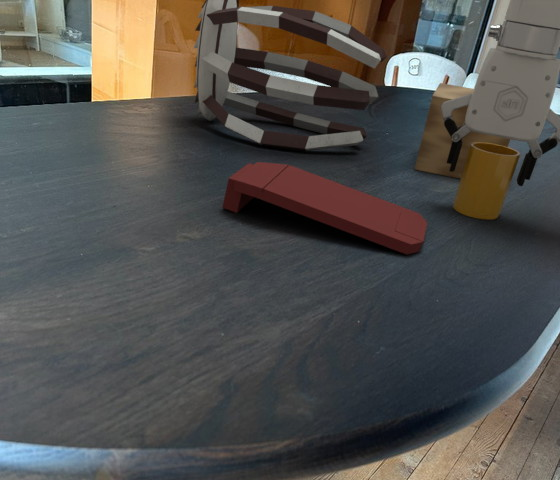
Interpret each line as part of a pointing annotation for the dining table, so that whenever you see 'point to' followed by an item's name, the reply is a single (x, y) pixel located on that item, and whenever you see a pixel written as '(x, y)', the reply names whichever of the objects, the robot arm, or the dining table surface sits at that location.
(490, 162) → the cup
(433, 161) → the wooden block
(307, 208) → the red hooked ramp
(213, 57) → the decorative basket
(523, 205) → the dining table surface
